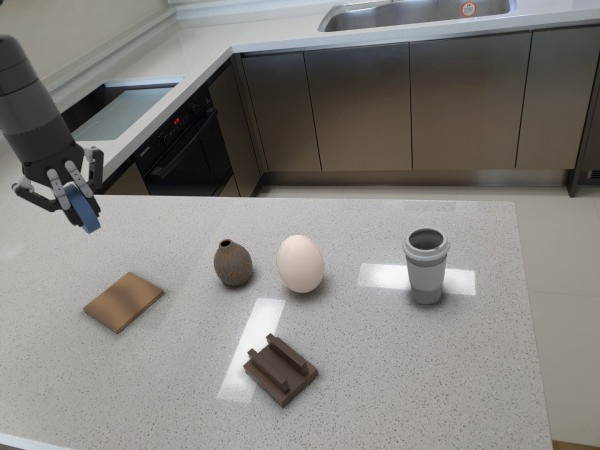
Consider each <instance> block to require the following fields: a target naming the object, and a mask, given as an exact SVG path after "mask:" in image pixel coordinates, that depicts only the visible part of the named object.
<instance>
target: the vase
mask: <svg viewBox="0 0 600 450" xmlns="http://www.w3.org/2000/svg"><path fill="white" fill-rule="evenodd" d="M217 247H218V248H217V249H216V251H215V253H214V256H213V268H214V272H215V274H216V276H217V278H218V279H219V280H220V281H221V282H222V283H223V284H225V285H228V286H232V287H236V286H240V285H241V286H242V285H243V284H245V283H246V282H248V280H249V279H250V277H251V276H252V273H253V259H252V257H251V254H250V252H249V251H248V250H247V249H246V247H244V246H243V245H241V244H240V243H237V242H234V241H233V240H232V239H231V238H225V239H222V240H220V242H219V244H218V246H217Z"/></svg>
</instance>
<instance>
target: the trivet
mask: <svg viewBox="0 0 600 450" xmlns="http://www.w3.org/2000/svg"><path fill="white" fill-rule="evenodd" d="M164 294H165V290H164V289H163V288H161V287H160V286H158V285H155V284H153V283H151V282H150V281H148V280H146V279H144V278H142V277H141V276H138V275H136V274H135V273H133V272H130V271H128V272H127V273H125V274H124V275H123V276H122V277H120V278H119V279H118V280H117V281H115V282H113V284H112V285H111V286H109V287H107V288H106V289H105V290H104V291H102V292H101V293H100V294H98V296H96V297H95V298H94V299H93V300H91V301H90V302H88V304H86V305H85V306H84V307H82V310H83V312H85V313H86V314H88V315H89V316H90V317H92V318H93V319H94V320H96V321H98V322H99V323H101V325H104V326H105V327H107V328H108V329H110V330H111V331H113V332H114V333H115V334H119V333H121V331H123V330H124V329H125V328H126V327H128V325H130V324H131V323H132V322H133V321H134V320H135V319H137V318H138V317H139V316H140V315H142V313H144V311H146V310H147V309H148V308H149V307H150V306H152V305H153V304H154V303H155V302H156V301H157V300H158V299H159V298H161V296H163V295H164Z"/></svg>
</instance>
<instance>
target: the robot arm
mask: <svg viewBox="0 0 600 450" xmlns="http://www.w3.org/2000/svg"><path fill="white" fill-rule="evenodd" d="M4 3H5V0H0V7H2V5H4ZM0 133H1V134H2V136H3V137H4V139H5V140H6V142H7V143H8V145H9V146H10V148H11V149H12V151H13V153H14V154H15V156H16V157H17V159H18V161H19V163H20V164H21V173H22V177H21V178H20V179H19V181H18V182H13V183H12V185H11V190H12V191H13V192H14V193H15V195H16V196H17V197H19V198H21V199H23V200H25V201H27V202H29V203H31V204H33V205H35V206H36V207H39V208H41V209H43V210H45V211H46V212H49V213H55V212H56V211H59V210H60V211H62V212H63V214H64V215H65V217H66V219H67V220H68V222H69V223H70V224H71V225H72V226H74V227H76V226H77V227H78V228H82V226H83V225H84V224H83V223H82V221H81V219H80V218H79V216H78V214H77V212H76V211H75V209H74V207H73V206H72V205H71V204H70V202H69V200H68V198H67V196H66V192H65V190H64V187H65V186H66V184H69V183H71V182H72V183H73V184H74V185H75V186H76V187H77V188H78V190H79V191H80V192H81V193H82V195H83V196H84V197H85V199H86V200H87V202H88V203H89V205H90V206H91V208H92V209H93V211H94V213H95V215H96V216H97V218H98V219H99V218H100V217H101V216H100V213H101V212H102V208H101V207H100V205H99V203H98V201H97V200H96V197H95V196H94V193H95V192H96V191H97V190H100V189H101V188H102V187H103V176H104V162H105V153H104V151H103V150H101V149H100V148H99V147H97V146H94V145H93V146H91V147H89V148H88V147H82V145H80V144H79V143H77V141H76V140H75V138H74V137H73V134H72V133H71V131H70V129H69V127H68V125H67V123H66V122H65V120H64V118H63V116H62V114H61V112H60V110H59V108H58V107H57V105H56V102H55V101H54V99H53V97H52V95H51V94H50V92H49V91H48V88H46V86H45V85H44V83H43V82H42V80H41V79H40V77H39V75H38V73H37V71H36V70H35V68H34V66H33V64H32V62H31V61H30V59H29V57H28V55H27V53H26V51H25V49H24V47H23V46H22V43H21V42H20V41H19V39H18V38H16V36H14V35H12V34H9V33H4V32H3V33H1V32H0ZM84 158H85V160H86V161H87V162H88V178H87V180H86V179H85V178H84V176H83V175H82V174H81V173H82V168H83V164H84ZM32 182H34V183H36V184H39V185H41V186H44V187H46V188H49V191H50V192H51V193H52V195H53V197H54V198H53V199H49V198H47V197H45V196H43V195H42V194H39V192H36V191H35V190H36V189H35V186H34V185H33V184H32Z"/></svg>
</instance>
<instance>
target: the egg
mask: <svg viewBox="0 0 600 450" xmlns="http://www.w3.org/2000/svg"><path fill="white" fill-rule="evenodd" d="M276 269H277V273H278V276H279V278H280V280H281V281H282V283H283V284H284V285H285V286H286V287H287V288H288V289H289V290H291V291H293V292H295V293H299V294H304V293H306V294H307V293H309V292H312V291H313V290H315V289H317V287H318V286H319V285H320V284H321V282H322V280H323V278H324V274H325V261H324V256H323V254H322V252H321V249H320V248H319V247H318V245H316V243H315V242H314V241H313V240H312V239H310V237H307V236H305V235H302V234H293V235H290V236H288V237H286V239H284V240H283V241H282V243H281V245H280V247H279V249H278V252H277V257H276Z"/></svg>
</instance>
